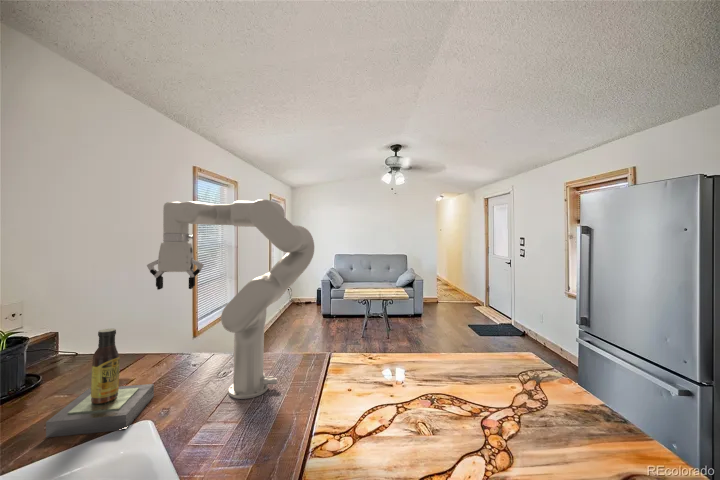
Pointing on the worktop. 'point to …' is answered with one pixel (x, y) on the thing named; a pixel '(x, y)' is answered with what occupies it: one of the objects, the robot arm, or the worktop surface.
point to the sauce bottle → (105, 368)
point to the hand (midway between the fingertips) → (175, 288)
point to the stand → (100, 412)
